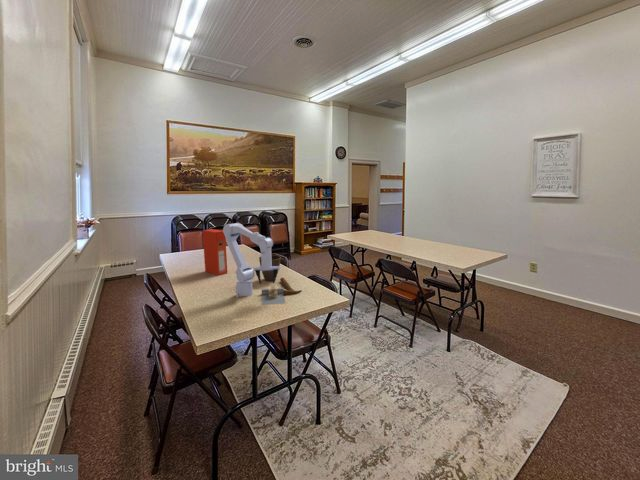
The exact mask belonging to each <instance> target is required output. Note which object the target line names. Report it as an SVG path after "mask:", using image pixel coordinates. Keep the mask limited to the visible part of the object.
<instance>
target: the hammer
mask: <svg viewBox="0 0 640 480" xmlns="http://www.w3.org/2000/svg"><path fill="white" fill-rule="evenodd" d="M279 281H280V282H281V283H282V285H283V286H284V291H283V295H284V296H286V295H289V296H293V295H297V293H301V292H302V289H301V290H294V289H293V288H292V287H291V286H290V284H289V282H288V281H287V280H286V279H285V278H284V277H281V278H280V279H279Z"/></svg>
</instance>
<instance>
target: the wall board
mask: <svg viewBox="0 0 640 480" xmlns="http://www.w3.org/2000/svg"><path fill="white" fill-rule="evenodd" d="M284 290H285V287H277V296H278V297H272V298H269V291H268V288H262V289H261V305H262V306H264V305H282V304H283V305H284V304H286V298H285V295H283V291H284Z"/></svg>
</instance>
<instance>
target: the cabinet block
mask: <svg viewBox="0 0 640 480" xmlns="http://www.w3.org/2000/svg"><path fill="white" fill-rule="evenodd" d="M277 288H278V285H272V286H271V285H270V286H268V287H267V289H268V291H269V298H272V297H278V296H277Z"/></svg>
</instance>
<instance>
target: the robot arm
mask: <svg viewBox="0 0 640 480" xmlns="http://www.w3.org/2000/svg"><path fill="white" fill-rule="evenodd" d="M222 231H223V233H224V235H225V238H226V245H227V246H228V249H229V251H230V253H231V256H232V258H233V260H234V263H235V265H236V267H237V268H236V270H235V275H236V282H235V286H236V287H235V294H236V299H238V298H239V297H249V296H252V295H254V294H253V292H254V291H253V280H254V278H255V276H257V279H258V282H259V284H261V283H262V281H261V272H262V271H267V270H273V281H272V283H273V284H275V281H276V279H277V277H276V275H277V276H278V274H277V273H279V271H280V269H281V268H280V266H272V257H271V255H272V247H273V246H274V240H273V239H272V238H271V237H266V236H265V235H262V234H260V232H258V231H255V232H253V231H251V230H250V229H248V228H247V227H245V226H244V225H243V224H241V223H240V222H235V223H227V224H224V226H223V229H222ZM240 235H243V236H245V237H247V238H249V240H250V241H251V242H252V243H254V244H256V245H257V246H258V247H259V249H260V251H259V252H260V257H261V266H260V265H259V266H253V267H252V266H251V265H249V264H247V262H246V260H245V257H244V255H243V253H242V251H241V248H240V246H239V244H238V242H237V239H238V237H239V236H240ZM275 278H276V279H275Z"/></svg>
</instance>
